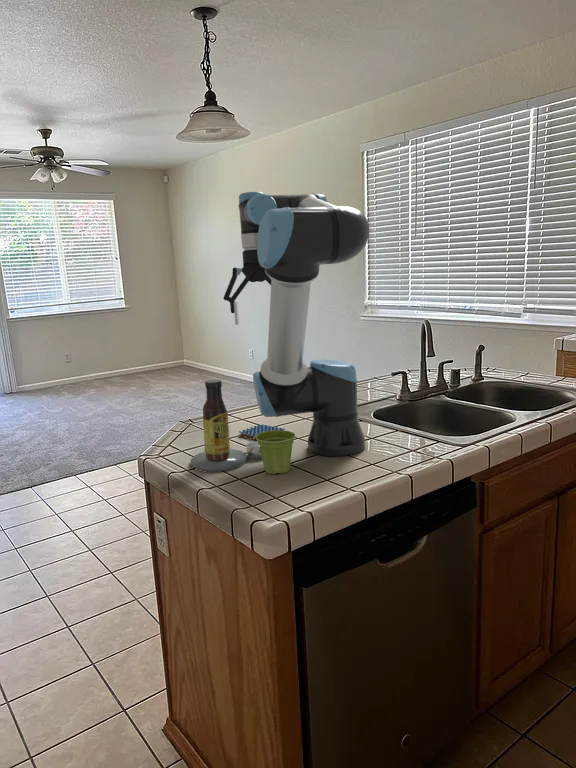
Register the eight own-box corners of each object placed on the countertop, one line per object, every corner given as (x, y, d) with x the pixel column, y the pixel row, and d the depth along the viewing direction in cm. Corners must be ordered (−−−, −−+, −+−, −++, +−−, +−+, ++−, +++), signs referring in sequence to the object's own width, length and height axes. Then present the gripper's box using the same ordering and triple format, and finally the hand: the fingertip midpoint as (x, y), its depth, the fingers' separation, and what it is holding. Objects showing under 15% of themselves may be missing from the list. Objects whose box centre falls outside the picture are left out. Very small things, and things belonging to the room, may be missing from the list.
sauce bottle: (218, 463, 139) (211, 384, 135) (200, 459, 142) (193, 382, 138) (236, 455, 144) (230, 379, 140) (218, 452, 148) (212, 377, 143)
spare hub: (274, 453, 148) (273, 442, 148) (262, 460, 143) (262, 449, 142) (254, 451, 151) (253, 440, 150) (242, 458, 146) (241, 447, 145)
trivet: (256, 456, 146) (256, 451, 146) (226, 475, 134) (226, 470, 134) (212, 450, 153) (211, 446, 152) (179, 468, 140) (179, 463, 140)
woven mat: (263, 444, 157) (263, 437, 157) (237, 438, 164) (236, 431, 164) (288, 434, 165) (287, 428, 165) (261, 429, 172) (261, 423, 172)
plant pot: (275, 460, 142) (273, 427, 140) (304, 467, 136) (303, 433, 134) (249, 472, 135) (247, 437, 133) (280, 480, 129) (277, 444, 127)
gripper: (298, 246, 165) (302, 319, 169) (214, 251, 166) (220, 323, 171) (298, 246, 158) (302, 322, 162) (209, 251, 159) (216, 326, 163)
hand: (260, 323), depth 166 cm, fingers open, 13 cm apart
